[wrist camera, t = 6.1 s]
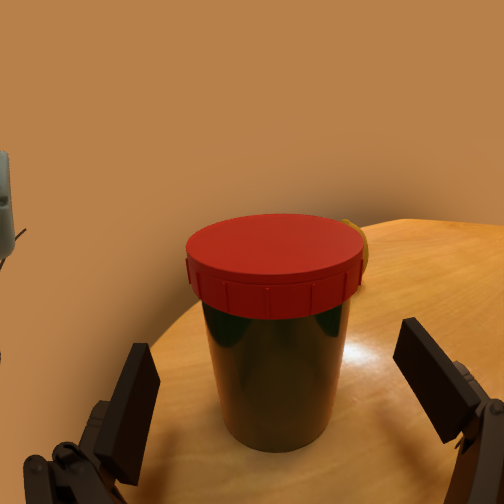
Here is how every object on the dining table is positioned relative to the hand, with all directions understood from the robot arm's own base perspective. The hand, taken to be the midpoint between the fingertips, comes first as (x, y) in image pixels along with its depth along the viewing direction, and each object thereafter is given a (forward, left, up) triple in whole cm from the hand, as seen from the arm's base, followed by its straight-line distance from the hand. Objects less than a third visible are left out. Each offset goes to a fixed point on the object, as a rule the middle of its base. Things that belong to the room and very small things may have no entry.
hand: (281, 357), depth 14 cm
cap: (-1, +1, +5) cm, 6 cm away
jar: (-1, +1, -6) cm, 6 cm away
